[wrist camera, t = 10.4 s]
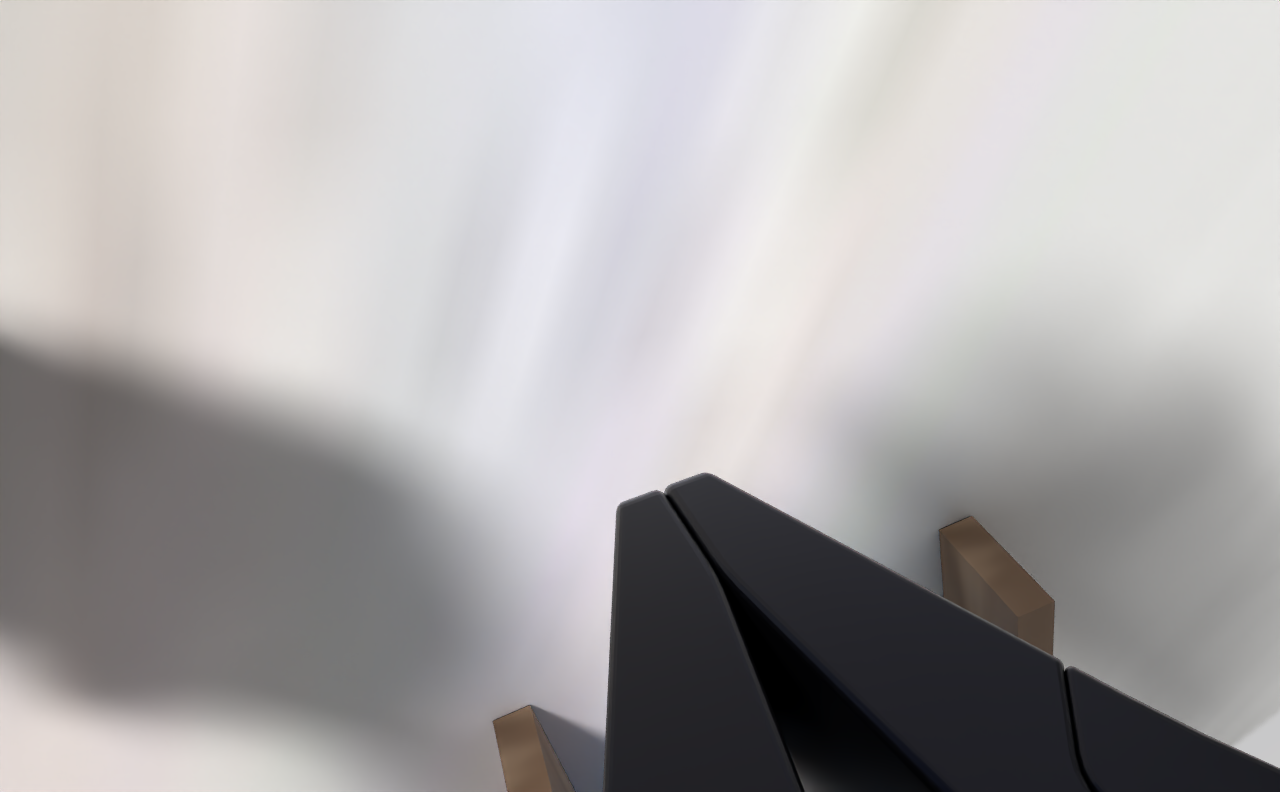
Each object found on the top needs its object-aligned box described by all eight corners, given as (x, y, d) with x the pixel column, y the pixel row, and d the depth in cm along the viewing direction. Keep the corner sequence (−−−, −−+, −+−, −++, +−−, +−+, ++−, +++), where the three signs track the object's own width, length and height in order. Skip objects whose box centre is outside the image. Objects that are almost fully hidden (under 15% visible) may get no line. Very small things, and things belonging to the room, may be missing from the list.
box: (612, 929, 36) (643, 1040, 32) (493, 721, 27) (517, 840, 24) (981, 759, 37) (1045, 847, 34) (972, 515, 29) (1054, 601, 26)
